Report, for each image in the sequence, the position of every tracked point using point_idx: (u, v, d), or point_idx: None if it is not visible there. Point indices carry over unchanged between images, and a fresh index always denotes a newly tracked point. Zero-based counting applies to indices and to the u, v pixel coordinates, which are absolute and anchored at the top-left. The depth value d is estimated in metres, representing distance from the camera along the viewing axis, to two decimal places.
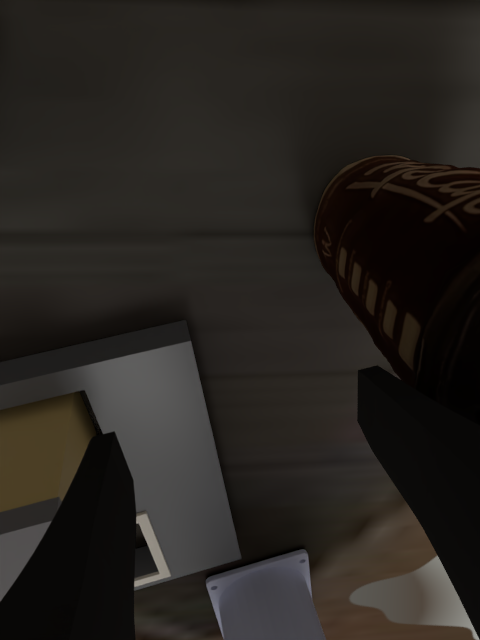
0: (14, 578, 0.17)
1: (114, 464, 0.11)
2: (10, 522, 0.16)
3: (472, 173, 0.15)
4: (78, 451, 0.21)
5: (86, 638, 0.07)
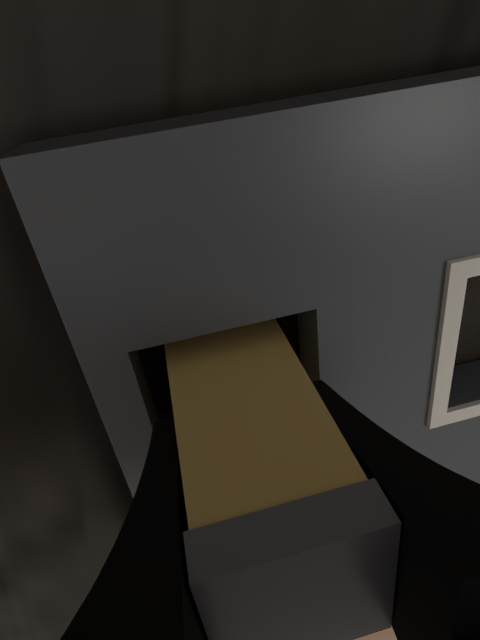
0: (337, 612, 0.09)
1: None
2: None
3: None
4: (227, 388, 0.12)
5: (189, 607, 0.07)
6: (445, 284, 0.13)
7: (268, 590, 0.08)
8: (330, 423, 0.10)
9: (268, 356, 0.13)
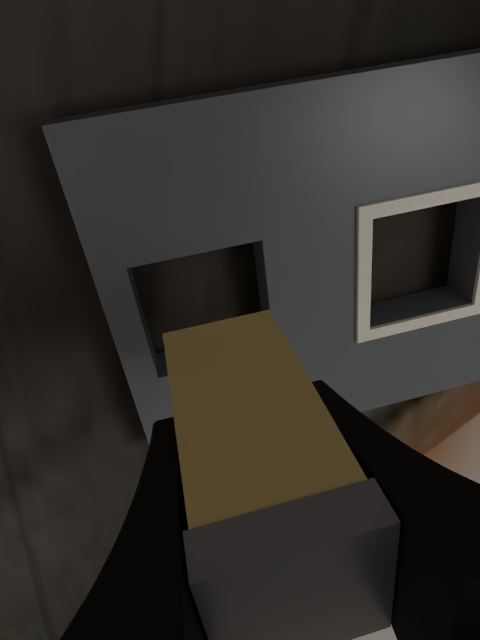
0: (337, 611, 0.09)
1: None
2: None
3: None
4: (226, 388, 0.12)
5: (189, 607, 0.07)
6: (357, 224, 0.18)
7: (268, 589, 0.08)
8: (330, 423, 0.10)
9: (268, 356, 0.13)
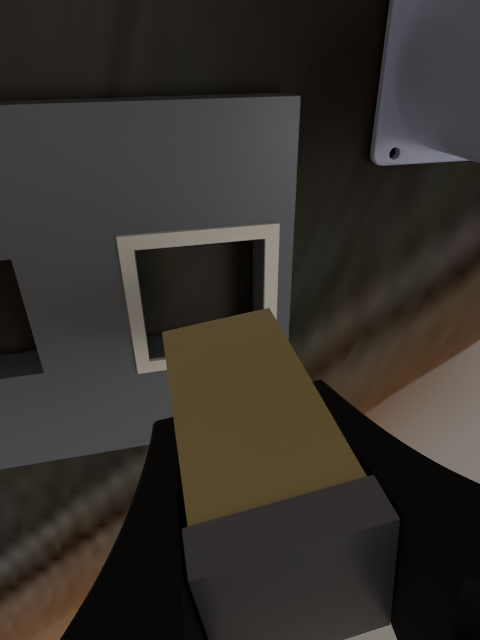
0: (336, 609, 0.09)
1: None
2: None
3: None
4: (226, 386, 0.12)
5: (189, 607, 0.07)
6: (120, 253, 0.18)
7: (267, 586, 0.08)
8: (329, 420, 0.10)
9: (267, 354, 0.13)
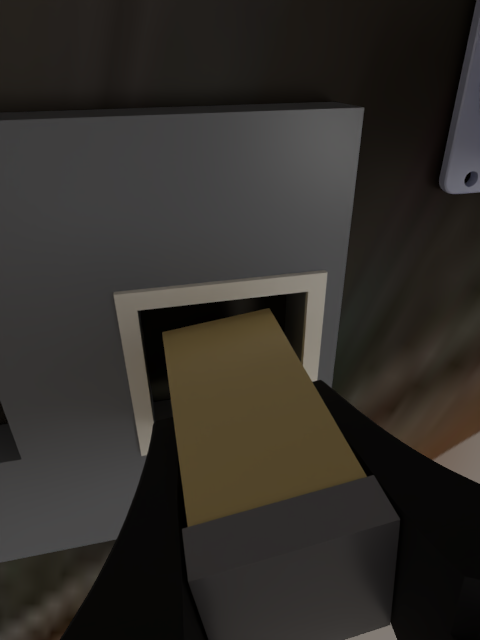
0: (336, 609, 0.09)
1: None
2: None
3: None
4: (226, 386, 0.12)
5: (189, 606, 0.07)
6: (119, 314, 0.14)
7: (267, 587, 0.08)
8: (329, 420, 0.10)
9: (267, 355, 0.13)
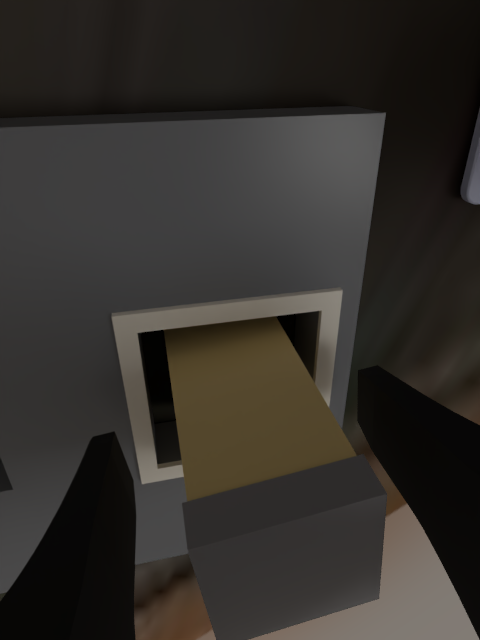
0: (327, 582, 0.09)
1: (114, 464, 0.11)
2: None
3: None
4: (224, 373, 0.12)
5: (86, 638, 0.07)
6: (117, 336, 0.12)
7: (261, 557, 0.09)
8: (322, 405, 0.11)
9: (264, 344, 0.13)
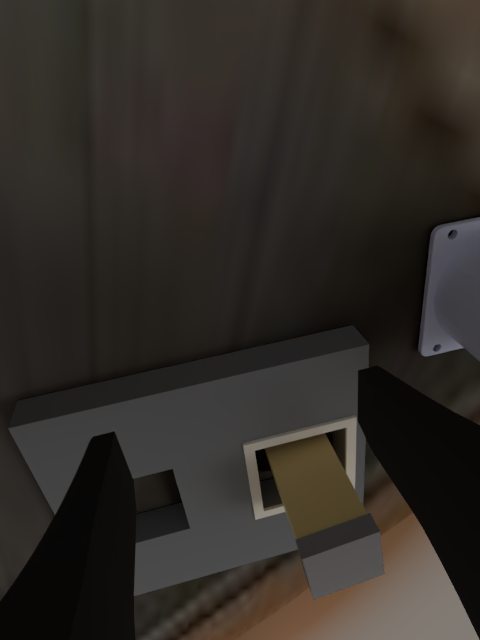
0: (359, 568, 0.22)
1: (114, 464, 0.11)
2: (304, 569, 0.22)
3: None
4: (300, 468, 0.24)
5: (85, 638, 0.07)
6: (244, 452, 0.25)
7: (330, 560, 0.21)
8: (350, 486, 0.23)
9: (318, 448, 0.25)
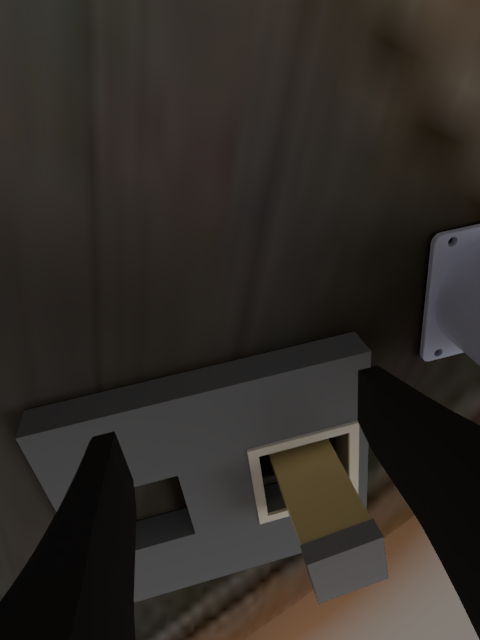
0: (363, 572, 0.22)
1: (114, 464, 0.11)
2: (309, 574, 0.22)
3: None
4: (304, 474, 0.25)
5: (86, 638, 0.07)
6: (249, 458, 0.25)
7: (335, 565, 0.21)
8: (354, 491, 0.23)
9: (321, 453, 0.26)
